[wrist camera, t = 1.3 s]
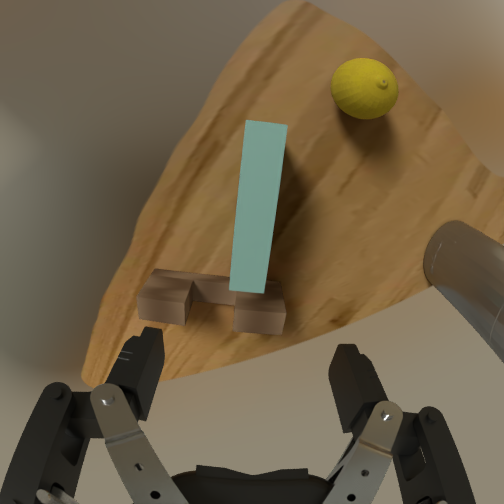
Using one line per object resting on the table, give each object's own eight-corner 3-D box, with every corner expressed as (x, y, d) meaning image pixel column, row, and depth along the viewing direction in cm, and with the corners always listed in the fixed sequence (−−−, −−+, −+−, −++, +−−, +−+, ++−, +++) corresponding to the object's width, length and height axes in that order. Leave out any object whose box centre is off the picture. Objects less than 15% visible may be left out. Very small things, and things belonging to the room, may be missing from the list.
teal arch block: (247, 126, 24) (246, 119, 16) (275, 130, 24) (287, 125, 16) (234, 245, 29) (228, 290, 21) (260, 248, 29) (263, 293, 21)
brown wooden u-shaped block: (280, 281, 31) (286, 313, 25) (276, 301, 32) (281, 335, 26) (154, 268, 30) (136, 296, 24) (155, 288, 31) (139, 318, 25)
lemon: (353, 132, 24) (390, 132, 17) (310, 95, 23) (334, 79, 16) (382, 95, 23) (425, 85, 15) (341, 59, 21) (373, 35, 14)
